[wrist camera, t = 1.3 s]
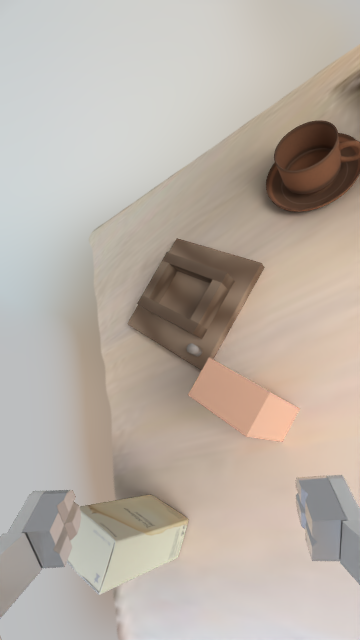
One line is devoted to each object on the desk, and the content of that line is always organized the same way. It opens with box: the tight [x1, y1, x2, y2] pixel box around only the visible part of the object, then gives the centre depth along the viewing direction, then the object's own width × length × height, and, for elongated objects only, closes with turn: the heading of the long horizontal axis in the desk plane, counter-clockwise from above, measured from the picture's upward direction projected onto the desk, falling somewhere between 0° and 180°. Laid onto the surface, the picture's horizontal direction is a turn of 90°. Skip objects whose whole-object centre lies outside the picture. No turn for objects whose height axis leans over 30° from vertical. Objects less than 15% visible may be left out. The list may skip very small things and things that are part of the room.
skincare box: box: [67, 495, 188, 595], centre depth 33 cm, size 6×4×12 cm
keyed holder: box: [128, 238, 264, 370], centre depth 45 cm, size 16×16×4 cm
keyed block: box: [188, 357, 300, 442], centre depth 32 cm, size 4×6×11 cm, turn 55°
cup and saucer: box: [266, 121, 360, 211], centre depth 41 cm, size 12×12×6 cm
